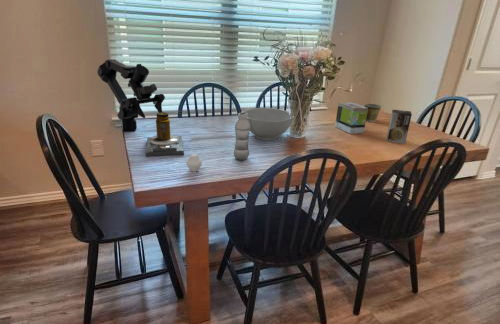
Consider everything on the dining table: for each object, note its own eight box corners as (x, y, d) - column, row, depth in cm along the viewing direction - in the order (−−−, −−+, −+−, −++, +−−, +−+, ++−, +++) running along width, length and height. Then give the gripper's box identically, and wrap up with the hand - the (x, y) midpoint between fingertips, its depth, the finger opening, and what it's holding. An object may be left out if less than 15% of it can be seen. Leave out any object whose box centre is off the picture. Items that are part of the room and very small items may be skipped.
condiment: (173, 137, 154) (172, 112, 149) (166, 142, 146) (165, 117, 141) (159, 135, 154) (157, 111, 150) (151, 141, 147) (149, 115, 142)
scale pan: (149, 146, 144) (149, 144, 143) (150, 137, 155) (150, 135, 155) (179, 145, 147) (179, 143, 146) (178, 136, 158) (178, 134, 158)
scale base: (146, 156, 138) (145, 149, 137) (147, 141, 156) (147, 134, 155) (184, 154, 142) (183, 147, 141) (181, 140, 160) (181, 133, 159)
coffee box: (404, 140, 174) (411, 111, 168) (405, 144, 168) (412, 113, 162) (386, 138, 177) (392, 109, 170) (386, 141, 171) (393, 111, 165)
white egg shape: (187, 167, 130) (186, 150, 128) (202, 167, 131) (202, 151, 128) (185, 173, 125) (184, 156, 122) (201, 173, 125) (201, 157, 122)
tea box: (364, 133, 184) (369, 107, 178) (349, 134, 180) (353, 108, 174) (348, 125, 196) (352, 101, 191) (334, 126, 193) (337, 102, 187)
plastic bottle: (233, 155, 143) (234, 111, 136) (248, 156, 144) (250, 112, 136) (233, 161, 138) (234, 115, 130) (249, 161, 138) (251, 116, 130)
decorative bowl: (233, 140, 163) (233, 116, 158) (251, 126, 186) (252, 105, 182) (284, 148, 155) (287, 124, 150) (297, 133, 178) (299, 111, 173)
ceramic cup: (380, 123, 204) (383, 107, 200) (364, 122, 204) (367, 106, 200) (373, 117, 216) (376, 103, 212) (358, 117, 216) (361, 102, 212)
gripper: (125, 80, 142) (141, 109, 140) (161, 76, 155) (176, 103, 153) (118, 95, 150) (133, 123, 147) (153, 90, 163) (167, 116, 160)
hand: (153, 116), depth 152 cm, fingers open, 9 cm apart
